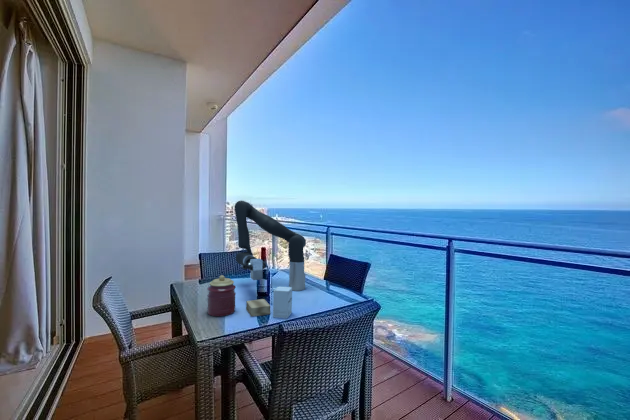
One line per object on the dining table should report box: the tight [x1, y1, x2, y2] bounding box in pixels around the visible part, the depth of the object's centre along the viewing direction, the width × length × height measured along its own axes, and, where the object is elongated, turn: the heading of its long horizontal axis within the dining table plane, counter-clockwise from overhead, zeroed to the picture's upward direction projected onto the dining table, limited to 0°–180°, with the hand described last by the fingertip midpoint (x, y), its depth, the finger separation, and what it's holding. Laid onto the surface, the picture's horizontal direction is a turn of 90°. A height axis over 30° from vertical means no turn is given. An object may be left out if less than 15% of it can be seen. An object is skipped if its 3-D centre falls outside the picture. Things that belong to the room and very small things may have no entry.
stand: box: [245, 298, 271, 318], centre depth 143 cm, size 9×11×4 cm
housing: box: [250, 258, 264, 281], centre depth 157 cm, size 5×6×10 cm
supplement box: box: [272, 286, 293, 320], centre depth 139 cm, size 7×7×13 cm
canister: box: [206, 274, 237, 317], centre depth 141 cm, size 13×13×18 cm
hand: (257, 268), depth 155 cm, fingers closed on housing, 5 cm apart
